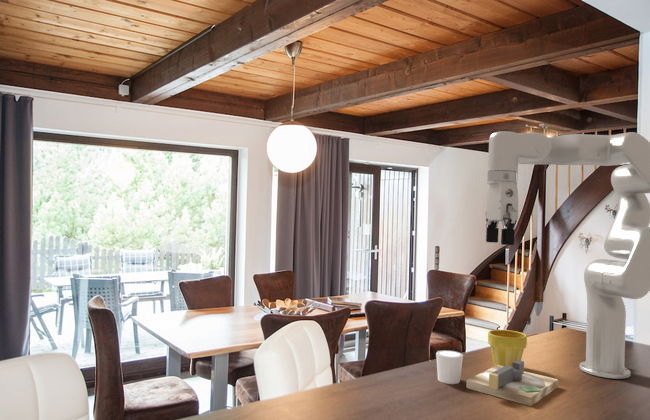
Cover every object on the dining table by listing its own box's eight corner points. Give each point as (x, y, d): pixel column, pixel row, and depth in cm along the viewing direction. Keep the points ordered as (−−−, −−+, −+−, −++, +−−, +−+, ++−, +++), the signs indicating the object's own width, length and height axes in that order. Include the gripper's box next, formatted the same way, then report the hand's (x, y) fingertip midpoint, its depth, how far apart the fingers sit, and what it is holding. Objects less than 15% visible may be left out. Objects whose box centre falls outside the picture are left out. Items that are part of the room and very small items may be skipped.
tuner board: (497, 372, 139) (497, 364, 139) (559, 387, 128) (559, 378, 128) (466, 388, 126) (466, 379, 126) (532, 406, 115) (532, 396, 115)
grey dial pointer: (511, 371, 132) (512, 358, 132) (528, 375, 129) (529, 362, 129) (483, 386, 120) (484, 372, 120) (501, 391, 117) (501, 377, 117)
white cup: (463, 386, 127) (464, 358, 127) (435, 383, 129) (436, 356, 129) (461, 377, 134) (462, 351, 134) (435, 374, 136) (435, 348, 136)
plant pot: (503, 360, 151) (504, 327, 151) (533, 369, 142) (534, 335, 142) (479, 365, 145) (480, 331, 145) (510, 375, 136) (510, 339, 136)
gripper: (531, 177, 125) (528, 246, 125) (502, 181, 142) (499, 242, 142) (502, 176, 124) (499, 245, 124) (476, 180, 141) (473, 240, 141)
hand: (499, 243), depth 133 cm, fingers open, 9 cm apart
